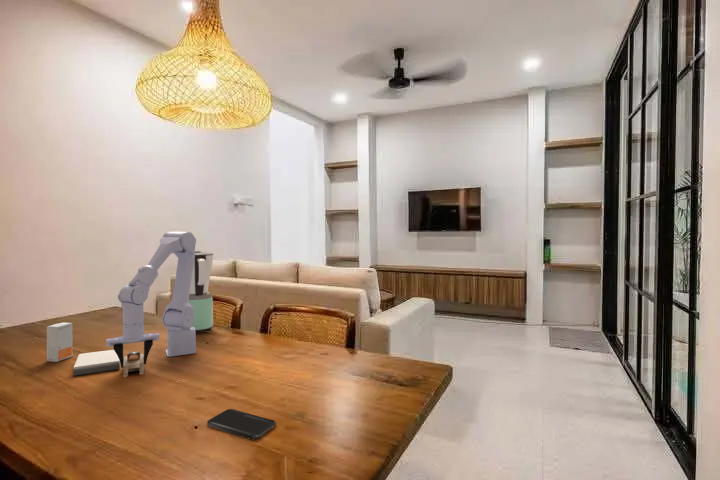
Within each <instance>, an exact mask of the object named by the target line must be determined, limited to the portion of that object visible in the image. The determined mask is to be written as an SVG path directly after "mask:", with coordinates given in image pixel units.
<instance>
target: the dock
mask: <svg viewBox="0 0 720 480" xmlns="http://www.w3.org/2000/svg"><path fill="white" fill-rule="evenodd" d="M120 368H121V364H120V360H119V358H118V356H117V354H116V352H115V351H114V349H108V350H102V351H101V350H100V351H93V352H92V351H91V352H84V353H79V354H78V356H77V358H76V361H75V363H74V366H73V370H72V371H73V373H72V375H73V376H80V375H86V374H93V373H100V372H101V373H102V372H107V371H113V370H120Z"/></svg>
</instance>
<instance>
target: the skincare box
mask: <svg viewBox="0 0 720 480" xmlns="http://www.w3.org/2000/svg"><path fill="white" fill-rule="evenodd" d="M73 348H74V347H73V322H60V323H59V322H58V323H55V324H54V323H53V324H52V325H48V326H46V361H47V362H52V363H53V362H54V363H58V362H60V361H63V360H66V359H69V358H73V351H74V349H73Z"/></svg>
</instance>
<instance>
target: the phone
mask: <svg viewBox="0 0 720 480" xmlns="http://www.w3.org/2000/svg"><path fill="white" fill-rule="evenodd" d="M206 424H207V427H210V428H212V427H213V429H216V430H219V431H222V432H225V433H228V434H232V435H235V436H238V437H241V436H243V437H242V438H244V437H246V438H245V439H247V438H250V439H249V440H251V439H257V440H259V439H261V438H262V437H263V436H265V435H266V434H267V433H268V432H267V431H268V430H270V429H271V428H272V427H274V426H275V425H276V426H277V421H276V420H273V419H270V418H266V417H262V416H259V415H255V414H251V413H250V412H249V413H247V412H244V411H240V410H237V409H234V408H229V409H226V410H224V411H222V412H220V413H219V414H216V415H215V416H213V417H211V418H210V419H208V420H207V423H206ZM276 426H275V427H276ZM275 427H274V428H275ZM271 430H272V429H271ZM271 430H270V431H271ZM266 432H267V433H266ZM265 433H266V434H265ZM264 434H265V435H264ZM262 435H263V436H262ZM261 436H262V437H261ZM260 437H261V438H260ZM258 438H259V439H258Z"/></svg>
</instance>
